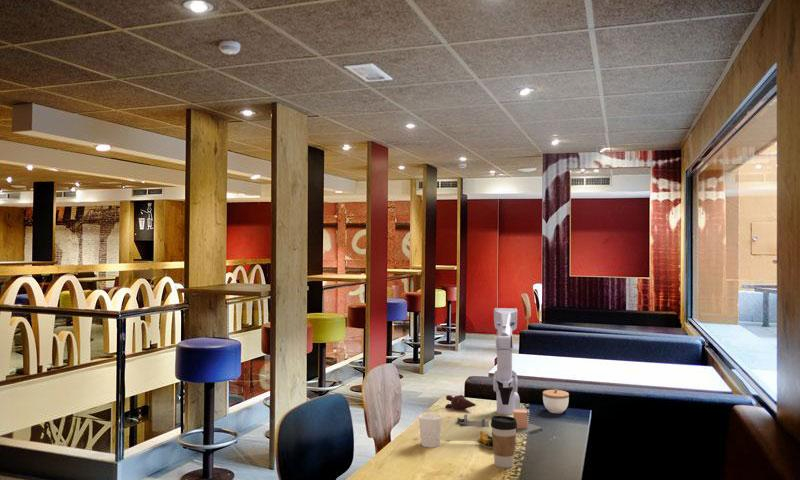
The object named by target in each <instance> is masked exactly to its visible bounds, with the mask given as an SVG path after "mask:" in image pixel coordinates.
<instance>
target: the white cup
mask: <svg viewBox="0 0 800 480" xmlns="http://www.w3.org/2000/svg"><path fill="white" fill-rule="evenodd" d="M418 419H419V421H418V422H419V423H418V424H419V438H420V445H421V446H422V447H424V448H429V449H430V448H437V447H439V446H440V444H441V434H442V415H441V414H439V413H435V412H425V413H421V414H419V416H418Z"/></svg>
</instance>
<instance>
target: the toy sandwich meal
mask: <svg viewBox="0 0 800 480" xmlns="http://www.w3.org/2000/svg"><path fill="white" fill-rule="evenodd" d="M479 433H480V435H479V437H480V438H479V439H478V440H477V442H478V444H479V445H480V447H483V448H484V449H488V450H493V440H492V434H488V433H487V434H485V433H484V432H483V431H482V430H480V431H479Z"/></svg>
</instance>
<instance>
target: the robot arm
mask: <svg viewBox="0 0 800 480" xmlns="http://www.w3.org/2000/svg"><path fill="white" fill-rule="evenodd" d="M493 321H494V324H493V325H494V329H495V330H497V335H496V337H495V349H496V351H495V352H496V370H495V371H494V373H493V381H492V384H493V385H492V389H493V391H494V392H495V393H496V413H497V414H499V415H502V416H509V415H513V409H520V410H521V407H520V406H521V402H520V401H521V399H520V395H519V393H518V374H517V372H516V371H514V369H513V350H514V337H513V331H515V330H517V327H518V309H517V308H516V307H514V308H510V307H509V308H507V307H503V308H502V307H498V308H497V307H495V308H494V309H493Z"/></svg>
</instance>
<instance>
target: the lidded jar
mask: <svg viewBox="0 0 800 480" xmlns="http://www.w3.org/2000/svg"><path fill="white" fill-rule="evenodd" d="M569 396H570V393H569V392H567V391H565V390H561V389H557V388H554V389H546V390H543V391H542V401H543V402H542V403H543V405H544V407H545V408H546V410H547V411H548V412H549V413H551V414H563V413H564V411H565V410H566V409H567V408H568V406H569V401H570V400H569V399H570V397H569Z"/></svg>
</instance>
